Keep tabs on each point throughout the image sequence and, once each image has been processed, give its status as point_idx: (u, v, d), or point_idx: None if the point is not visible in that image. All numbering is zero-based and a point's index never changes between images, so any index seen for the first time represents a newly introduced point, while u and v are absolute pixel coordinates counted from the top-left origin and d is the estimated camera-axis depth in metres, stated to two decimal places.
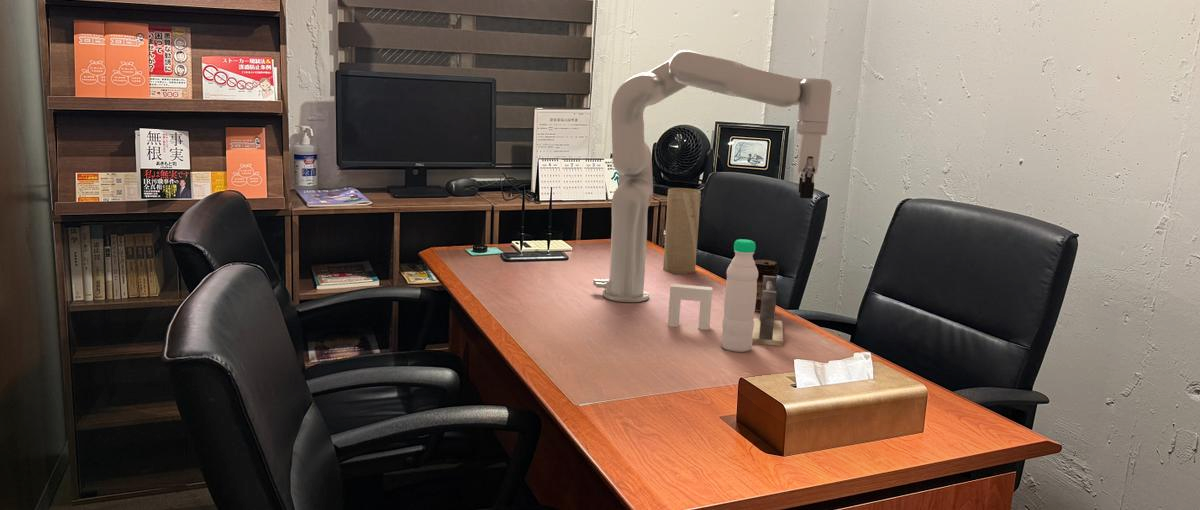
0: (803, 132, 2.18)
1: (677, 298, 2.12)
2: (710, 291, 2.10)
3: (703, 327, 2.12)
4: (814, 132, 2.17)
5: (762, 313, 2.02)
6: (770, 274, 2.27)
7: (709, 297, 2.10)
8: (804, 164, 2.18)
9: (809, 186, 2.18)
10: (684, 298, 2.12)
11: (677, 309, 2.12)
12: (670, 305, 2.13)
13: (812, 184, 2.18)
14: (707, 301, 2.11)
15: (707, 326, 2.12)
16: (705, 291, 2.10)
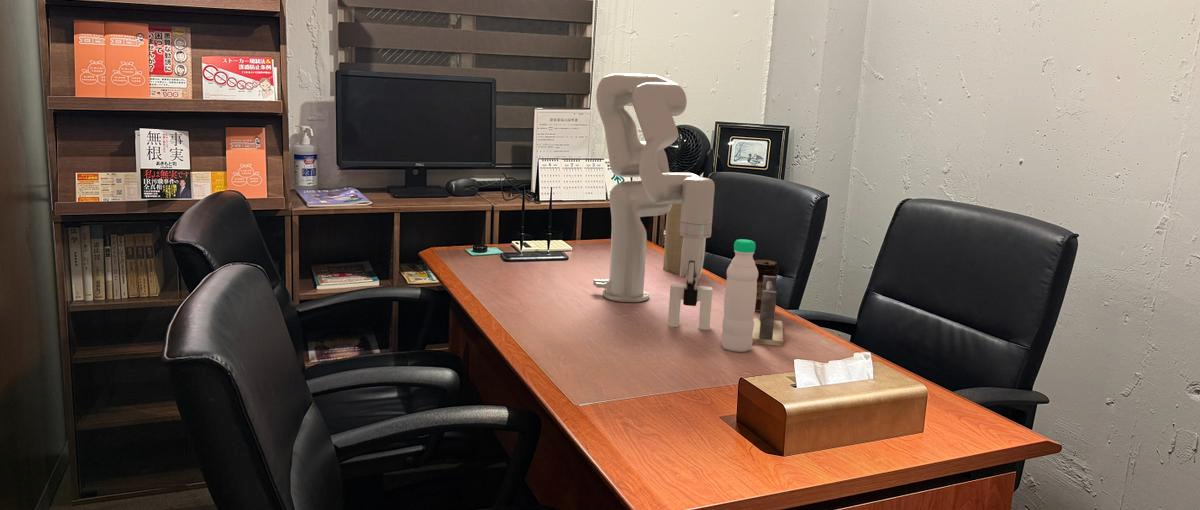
0: (685, 234, 2.07)
1: (677, 298, 2.12)
2: (710, 291, 2.10)
3: (704, 327, 2.12)
4: (696, 235, 2.06)
5: (762, 313, 2.02)
6: (770, 274, 2.27)
7: (709, 297, 2.10)
8: (686, 268, 2.06)
9: (692, 293, 2.10)
10: None
11: (677, 309, 2.12)
12: (670, 305, 2.13)
13: (695, 291, 2.10)
14: (707, 301, 2.11)
15: (707, 326, 2.12)
16: (705, 291, 2.10)
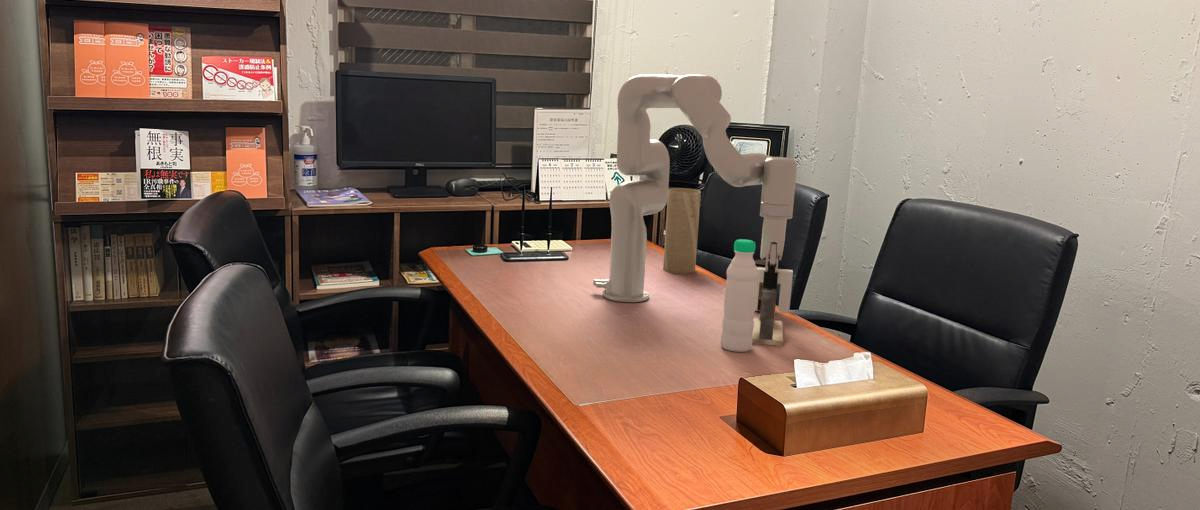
0: (766, 215, 2.02)
1: (757, 281, 2.07)
2: (791, 273, 2.06)
3: (784, 311, 2.08)
4: (778, 216, 2.01)
5: (762, 313, 2.02)
6: None
7: (790, 280, 2.06)
8: (767, 250, 2.02)
9: (772, 276, 2.05)
10: None
11: (757, 292, 2.08)
12: None
13: (776, 274, 2.06)
14: (788, 284, 2.06)
15: (787, 309, 2.08)
16: (786, 274, 2.06)
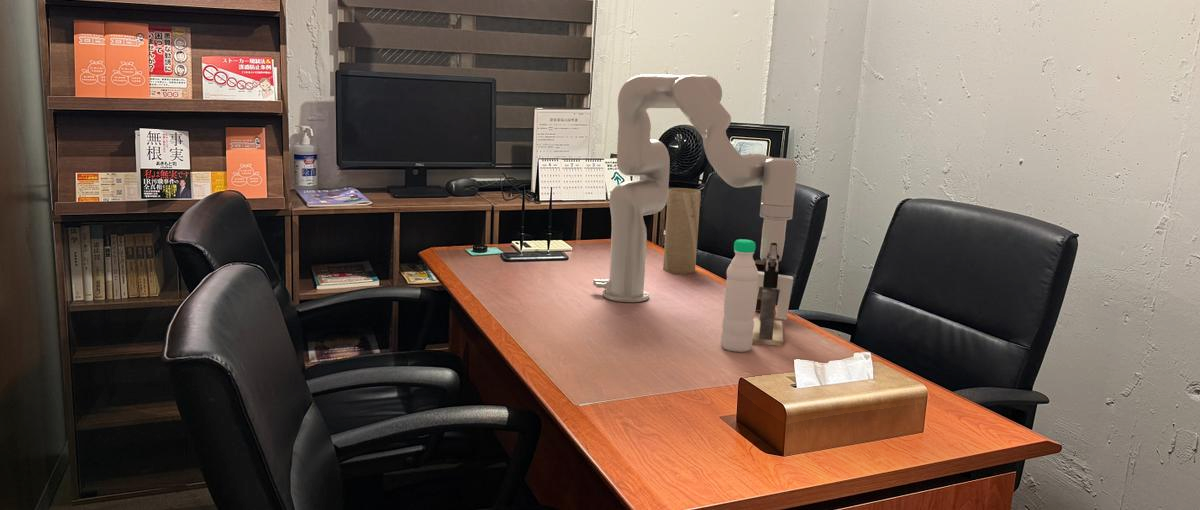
0: (766, 216, 2.02)
1: (757, 285, 2.08)
2: (791, 280, 2.06)
3: (781, 316, 2.08)
4: (778, 217, 2.01)
5: (762, 313, 2.02)
6: None
7: (790, 286, 2.06)
8: (767, 251, 2.02)
9: (773, 275, 2.02)
10: None
11: (756, 296, 2.08)
12: None
13: (776, 273, 2.03)
14: (787, 290, 2.07)
15: (785, 316, 2.08)
16: (787, 280, 2.06)
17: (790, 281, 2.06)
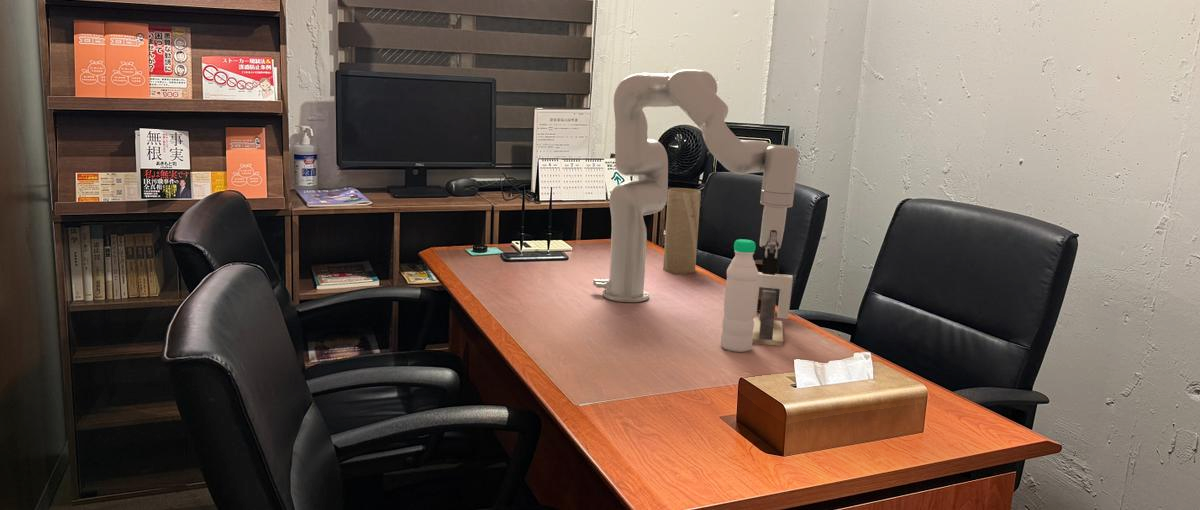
0: (767, 203, 2.02)
1: None
2: (791, 279, 2.06)
3: (783, 316, 2.08)
4: (778, 204, 2.01)
5: (762, 313, 2.02)
6: None
7: (790, 285, 2.06)
8: (767, 238, 2.02)
9: (772, 262, 2.02)
10: (764, 286, 2.07)
11: (756, 297, 2.08)
12: None
13: (775, 260, 2.03)
14: (787, 289, 2.06)
15: (787, 315, 2.08)
16: (786, 279, 2.06)
17: (790, 280, 2.06)
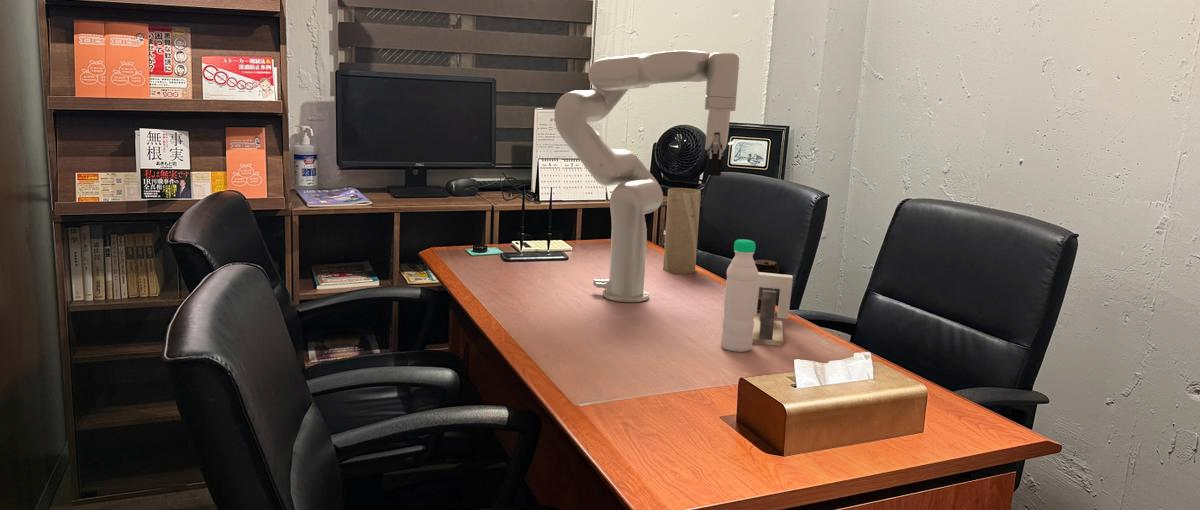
0: (710, 108, 2.13)
1: None
2: (791, 279, 2.06)
3: (783, 316, 2.08)
4: (721, 107, 2.12)
5: (762, 313, 2.02)
6: None
7: (790, 285, 2.06)
8: (711, 140, 2.13)
9: (716, 163, 2.13)
10: (764, 286, 2.07)
11: (756, 297, 2.08)
12: None
13: (719, 161, 2.13)
14: (787, 289, 2.06)
15: (787, 315, 2.08)
16: (786, 279, 2.06)
17: (790, 280, 2.06)
